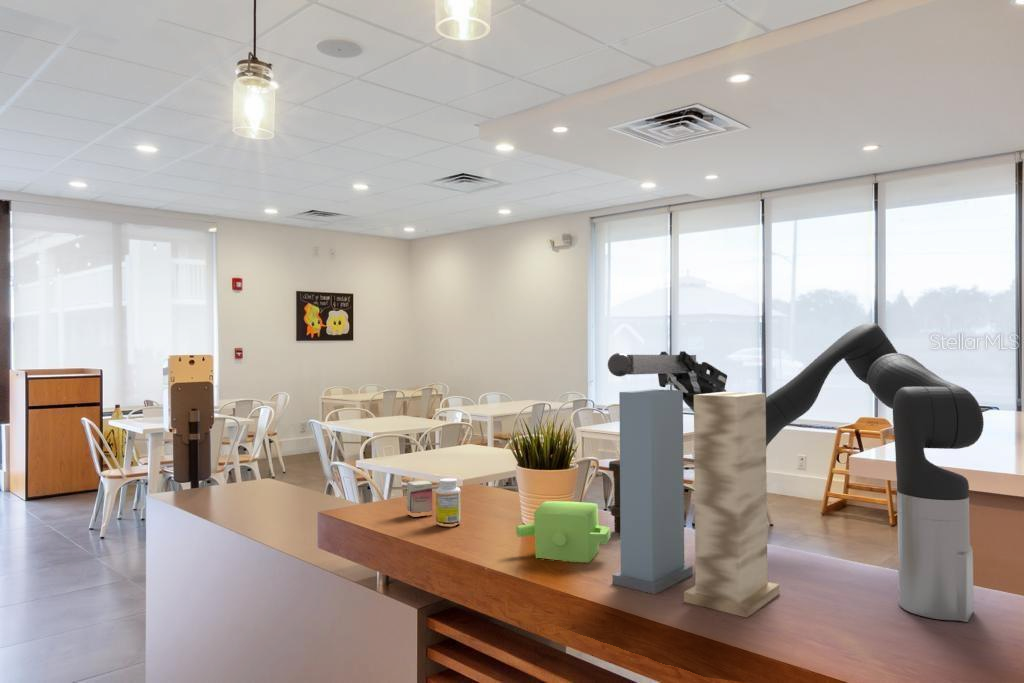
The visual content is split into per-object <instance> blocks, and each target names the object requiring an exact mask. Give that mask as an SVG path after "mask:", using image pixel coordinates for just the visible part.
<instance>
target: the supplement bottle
mask: <svg viewBox="0 0 1024 683" xmlns="http://www.w3.org/2000/svg"><path fill="white" fill-rule="evenodd" d="M438 486H439V487H438V488H436V490H435V511H436V512H435V517H436V519H435V520H436V521H437V522H439V523H443V524H454V523H459V522H462V519H461V518H462V514H461V513H462V510H461V509H462V507H461V506H462V504H461V503H462V500H461V498H462V496H461V494H462V492H461V488H460V487H459V486H458V479H457V478H453V477H446V478H445V477H444V478H440V479H439V485H438Z"/></svg>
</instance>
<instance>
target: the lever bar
mask: <svg viewBox="0 0 1024 683" xmlns="http://www.w3.org/2000/svg"><path fill="white" fill-rule="evenodd" d="M689 355H690V356H691V358H692V359H693V360H695V361H697V354H689ZM678 358H679V354H668V355H660V354H625V353H623V352H616V353H614V354H612V355H611V356H610V357H609V359H608V360H607V369H608V371H609V372H610V374H611V375H613V376H615V377H624V376H627V375H658V374H663V373H688V372H689V371H686V370H685V369H684V368H683V366H682V365H681V364H680V363H679V361H678Z"/></svg>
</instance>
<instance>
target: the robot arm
mask: <svg viewBox="0 0 1024 683" xmlns="http://www.w3.org/2000/svg"><path fill="white" fill-rule="evenodd" d="M659 355H669V354H668V352H667V351H660V354H659ZM678 355H679V358H678V361H679V363H680V364H681V365H682V366H683V368H684V369H685V370H686V371H689V372H688V373H663V374H657V378H658V385H659V386H660V388H666V386H667V385H669V386H673V388H674V390H683V403H684V404H686V406H688V407H689V408H690V410H691V411H692V412H693V413H694V395H698V394H707V393H717V392H728V391H727V389H726V385H727V379H728V375H727V374H726V373H725V372H723V371H721V370H720V369H718V368H716V367H715V366H713V365H711V364H710V363H708V362H706V361H702V362H701V363H699V362H698V361H697V360H696V361H695V360H693V359H692V358H691V356H690V355H691V354H689V353H687V352H686V351H685V350H680V351H679V354H678ZM842 360H844V361H845V363H846V364H847V366H848V367H849V368H850V370H851V371H852V372H853V374H854V376H856V378H858V380H860V381H861V382H863V383H864V384H866V385H868V388H869V389H870V390H871V392H872V393H873V395H874V396H875V397H876V398H877V399H878V400H879V401H880V402H881V403H882V404H884V405H885V406H886V407H888V408H890V409H891V410H892V424H893V434H894V450H895V451H894V452H895V472H896V475H895V476H896V490H897V491H896V492H897V493H896V494H897V495H896V496H897V498H896V499H897V500H896V502H897V504H896V505H897V569H898V570H897V572H898V573H897V575H898V577H897V578H898V579H897V580H898V588H897V589H898V590H897V593H898V605H899V606H900V608H902V609H903V610H905V611H906V612H909V613H912V614H915V615H918V616H920V617H921V616H922V617H925V618H930V619H935V620H944V621H960V622H965V623H968V622H969V620H970V618H971V616H972V615H973V612H974V611H975V610H974V609H975V608H974V604H975V603H974V601H975V600H974V556H973V555H974V554H973V552H974V551H973V546H971V544H970V543H971V540H970V538H971V537H970V536H971V535H970V534H971V533H970V485H969V480H968V479H967V477H965V476H964V475H962V474H960V473H958V472H955V471H952V470H951V471H950V470H947V469H944V468H943V467H940V466H938V465H936V464H934V463H932V462H930V460H928V459H927V457H926V454H925V449H942V450H943V449H945V450H947V449H948V450H949V449H951V450H959V449H963V448H968V447H971V446H973V445H974V444H976V443H977V442H978V441H979V439H980V438H981V437H982V433H983V431H984V424H985V423H984V416H983V411H982V409H981V408H982V407H981V406H980V404H979V402H978V400H977V399H976V397H975V396H974V395H973V394H972V393H971V392H970V391H969V390H968V389H966V388H964V387H962V386H960V385H957V384H954V383H952V382H949V381H947V380H945V379H943V378H941V377H940V376H939V375H937V374H936V373H934V372H932V371H931V370H929V369H928V368H926V366H924V365H923V364H922V363H920V362H919V361H918V360H917V359H915V358H914V357H912V356H910V355H909V354H908V355H907V354H904V353H901V352H900V353H898V351H897V349H896V347H894V345H893V344H892V342H891V340H890V339H889V338H888V336H887V335H886V333H885V332H884V330H883V329H882V327H880V326H879V325H878V324H877V323H876V322H866V323H862V324H860V325H858V326H856V327H854V328H852V329H850V330H848V331H847V332H845V334H843V335H841V337H839V338H838V339H837V340H836V341H834V342H833V343H832V344H831V345H830V346H829V347H828V348H826V349H825V350H824V351H823V352H822V353H821V354H820V355H818V356H817V357H816V358H815V359H814V360H813V361H812V362H811V363H809V364H808V365H807V366H806V367H805V368H804V369H803V370H802V371H801V372H800V373H798V374H797V375H796V376H794V378H793V379H791V380H790V381H788V382H787V383H786V384H784V385H783V386H781V387H779V388H778V389H777V390H776V391H774V392H772V393H771V394H769V395H768V396H766V447H767V446H769V444H770V443H771V442H772V440H773V439H775V437H776V436H777V435H778V434H779V433H780V432H781V431H782V430H783V429H784V428H785V427H787V426H788V425H790V424H791V423H793V422H795V421H796V420H797V419H799V418H801V417H802V416H804V415H805V414H807V413H808V411H810V410H811V408H812V406H814V404H815V402H816V401H817V399H818V396H819V394H820V393H821V391H822V387H823V386H824V384H825V381H826V380H827V378H828V376H829V374H830V373H831V372H832V370H833V369H834V368H835V367H836V365H837V364H838V363H840V362H841V361H842ZM708 371H709V372H708Z"/></svg>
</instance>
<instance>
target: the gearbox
mask: <svg viewBox="0 0 1024 683" xmlns="http://www.w3.org/2000/svg"><path fill="white" fill-rule="evenodd" d="M598 506H599V505H598V503H594V502H585V501H584V502H581V501H559V500H555V501H554V500H547V501H546V500H545V501H544V502H543V503H541V504H540V505H539V506H538V507H537V508H536V510H535V511H534V512H533V516H534V518H533V520H534V523H527V524H526V523H525V524H521V525H517V526H516V527H515V533H516V536H517V537H518V538H522V537H528V536H531V537H532V536H534V547H535V548H534V550H535V559H537V558H547V559H555V560H562V561H561V562H567V561H569V562H570V563H590V562H591V561H592V560H593V559H594V558H595V557H596V555H597V554H598V552H599V550H600V545H602V544H604V545H606V544H607V543H608V541H609V540H610V538H611V527H609V526H605V525H604V526H603V525H599V507H598Z"/></svg>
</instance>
